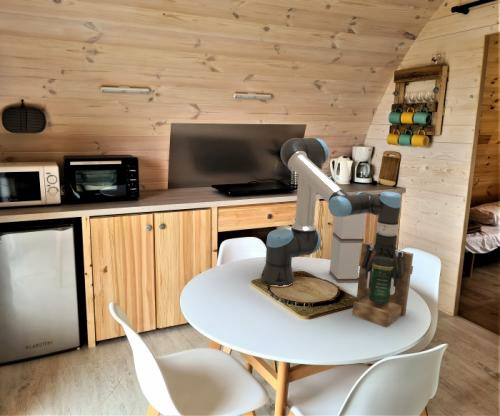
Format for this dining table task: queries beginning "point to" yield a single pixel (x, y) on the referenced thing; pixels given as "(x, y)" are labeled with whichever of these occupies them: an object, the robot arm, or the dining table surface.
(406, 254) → the wooden stand
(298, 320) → the dining table surface
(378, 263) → the coffee jar
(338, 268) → the grey seamed pillar
